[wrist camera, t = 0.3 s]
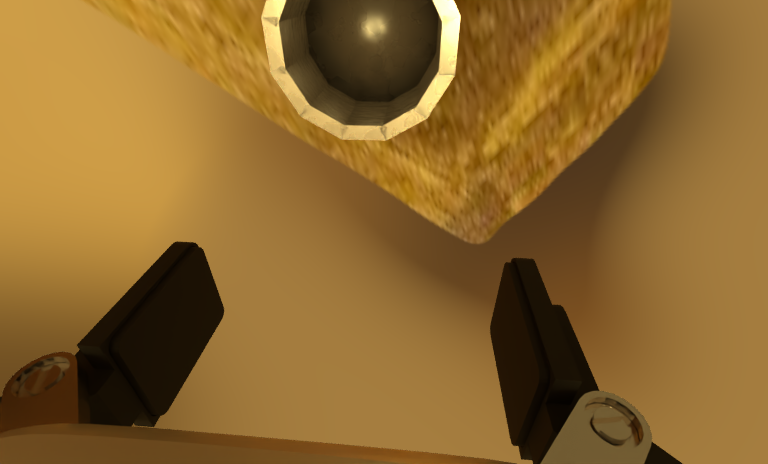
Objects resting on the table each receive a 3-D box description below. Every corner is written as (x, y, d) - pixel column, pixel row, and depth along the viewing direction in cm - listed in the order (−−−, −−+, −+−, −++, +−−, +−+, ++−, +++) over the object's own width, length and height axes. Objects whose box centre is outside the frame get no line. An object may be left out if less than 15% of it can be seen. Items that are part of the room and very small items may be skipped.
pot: (287, -63, 31) (244, -77, 23) (457, -67, 30) (469, -82, 22) (308, 107, 39) (281, 138, 31) (443, 109, 38) (449, 141, 30)
